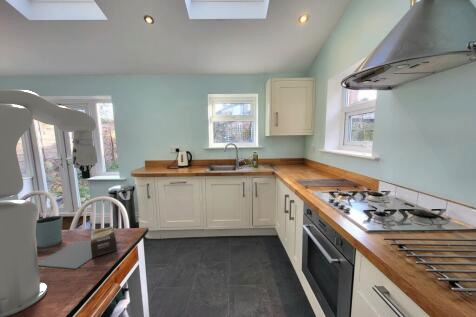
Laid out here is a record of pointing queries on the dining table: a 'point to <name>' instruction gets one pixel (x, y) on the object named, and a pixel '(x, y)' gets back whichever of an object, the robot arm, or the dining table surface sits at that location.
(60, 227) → the teal planter pot
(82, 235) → the dining table surface
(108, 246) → the coffee box
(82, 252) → the mat
